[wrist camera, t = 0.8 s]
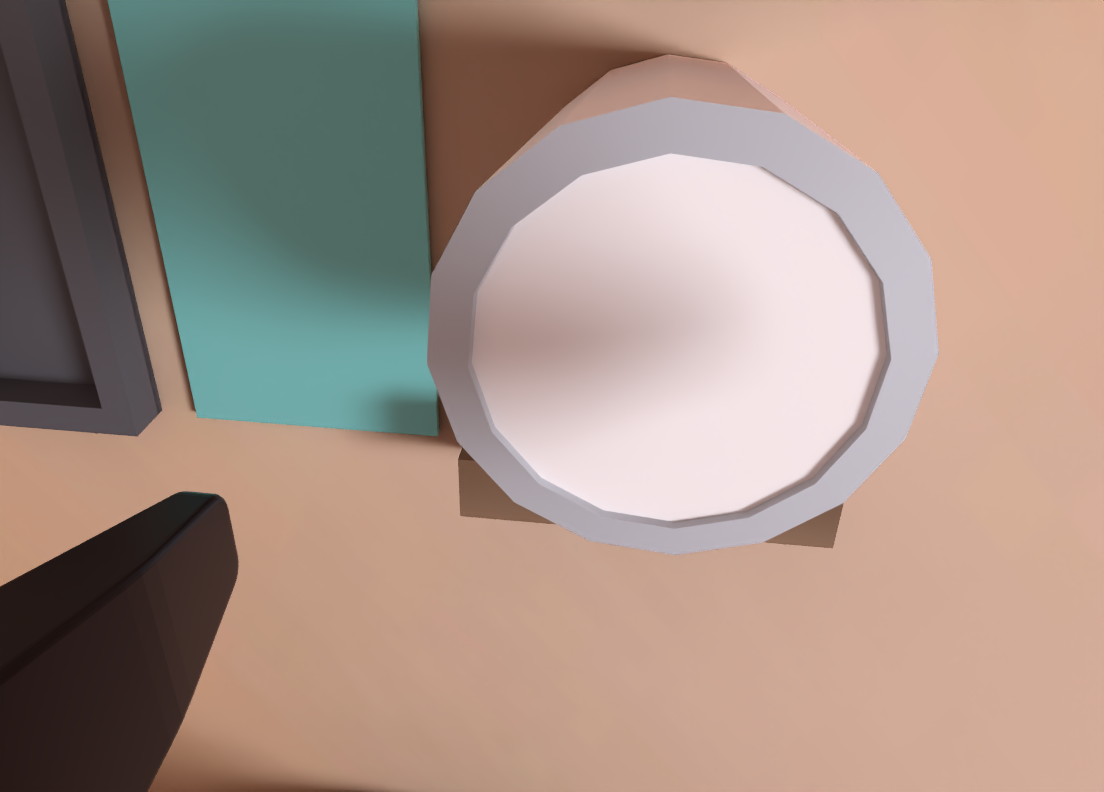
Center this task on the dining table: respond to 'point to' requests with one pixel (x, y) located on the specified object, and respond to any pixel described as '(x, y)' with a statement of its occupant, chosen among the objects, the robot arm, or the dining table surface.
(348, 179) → the teal pad
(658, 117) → the white cup
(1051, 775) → the dining table surface
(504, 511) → the brown bar
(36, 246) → the trap pit
